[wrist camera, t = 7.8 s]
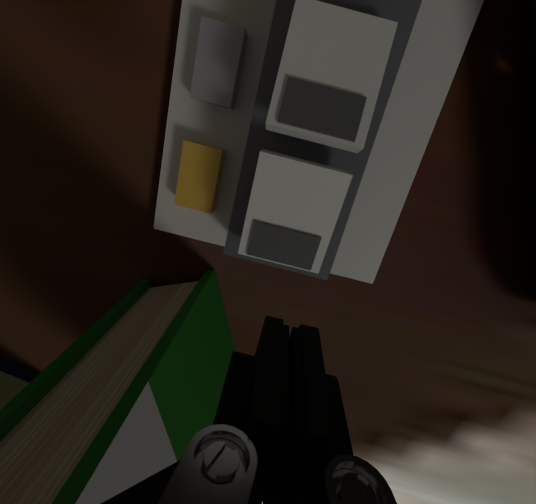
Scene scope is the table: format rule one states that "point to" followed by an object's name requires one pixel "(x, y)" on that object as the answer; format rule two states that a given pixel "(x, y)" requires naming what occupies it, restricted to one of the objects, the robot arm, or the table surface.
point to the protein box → (13, 380)
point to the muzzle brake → (533, 48)
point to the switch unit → (257, 137)
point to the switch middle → (330, 75)
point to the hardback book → (119, 398)
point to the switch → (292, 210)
